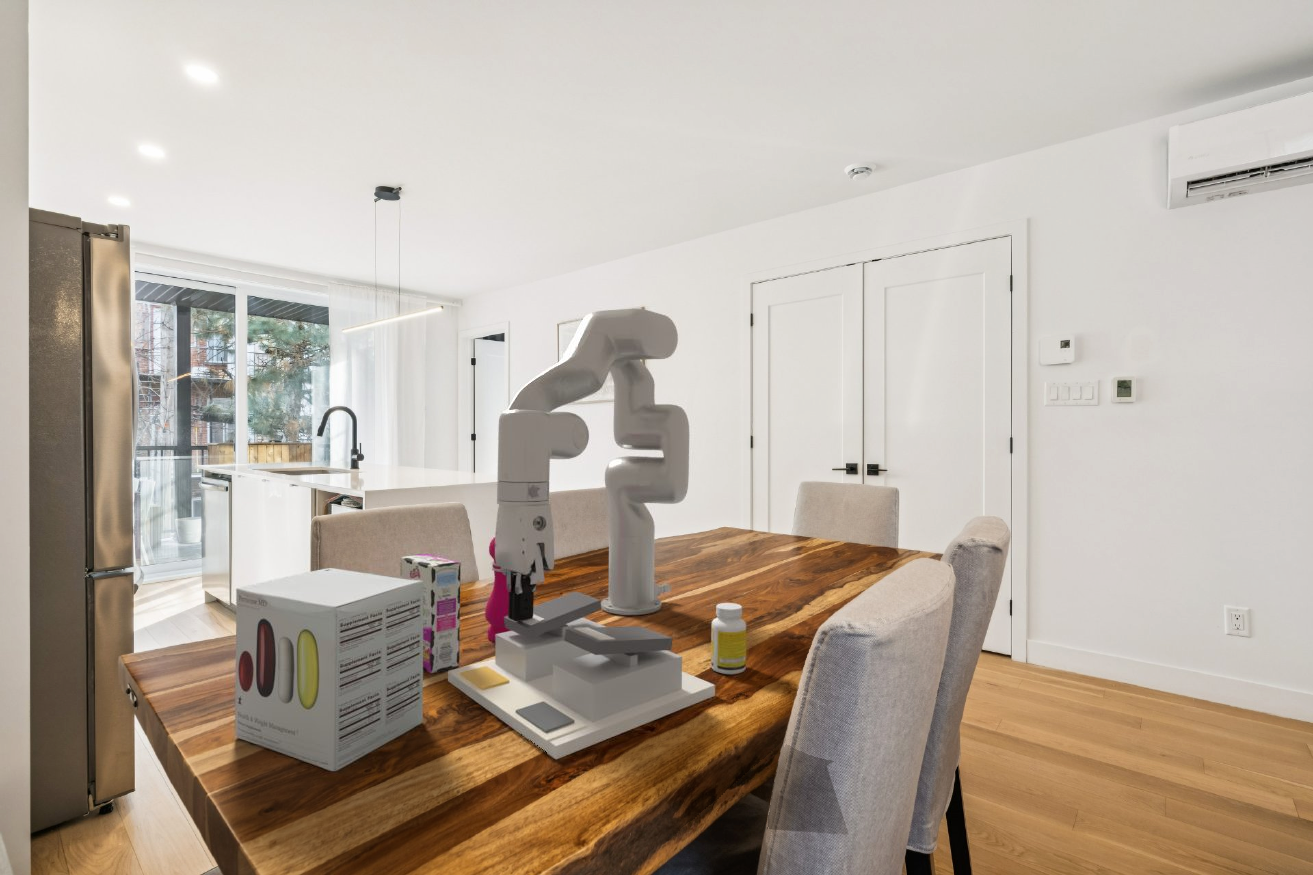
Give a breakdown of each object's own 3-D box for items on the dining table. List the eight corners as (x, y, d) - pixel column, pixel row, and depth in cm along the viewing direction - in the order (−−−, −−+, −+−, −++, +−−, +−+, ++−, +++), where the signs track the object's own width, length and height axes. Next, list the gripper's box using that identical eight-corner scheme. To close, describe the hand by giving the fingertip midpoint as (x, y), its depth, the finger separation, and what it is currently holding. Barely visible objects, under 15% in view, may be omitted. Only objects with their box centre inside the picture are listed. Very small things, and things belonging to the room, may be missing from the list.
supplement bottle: (753, 670, 96) (753, 607, 96) (725, 678, 93) (726, 612, 93) (731, 659, 101) (731, 599, 101) (704, 666, 98) (704, 604, 98)
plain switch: (638, 637, 91) (640, 624, 91) (671, 649, 85) (673, 636, 86) (564, 640, 82) (566, 627, 82) (595, 655, 77) (597, 640, 77)
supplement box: (229, 741, 73) (230, 587, 73) (329, 697, 85) (330, 566, 85) (333, 774, 66) (334, 605, 66) (426, 722, 78) (427, 579, 78)
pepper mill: (531, 631, 114) (532, 522, 114) (519, 644, 107) (519, 528, 107) (493, 629, 115) (494, 521, 115) (478, 642, 108) (479, 527, 108)
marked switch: (576, 600, 103) (575, 590, 102) (601, 609, 97) (600, 598, 97) (505, 627, 94) (503, 616, 94) (528, 638, 89) (527, 627, 89)
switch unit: (592, 642, 109) (592, 599, 109) (714, 695, 87) (715, 641, 87) (446, 681, 91) (446, 630, 91) (553, 760, 69) (553, 693, 69)
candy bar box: (461, 666, 97) (462, 561, 97) (431, 675, 93) (432, 566, 93) (427, 649, 105) (427, 551, 105) (397, 656, 101) (398, 555, 101)
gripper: (573, 496, 89) (570, 625, 88) (520, 489, 100) (518, 604, 100) (526, 498, 84) (523, 635, 84) (476, 491, 95) (474, 612, 95)
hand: (520, 618), depth 92 cm, fingers closed
